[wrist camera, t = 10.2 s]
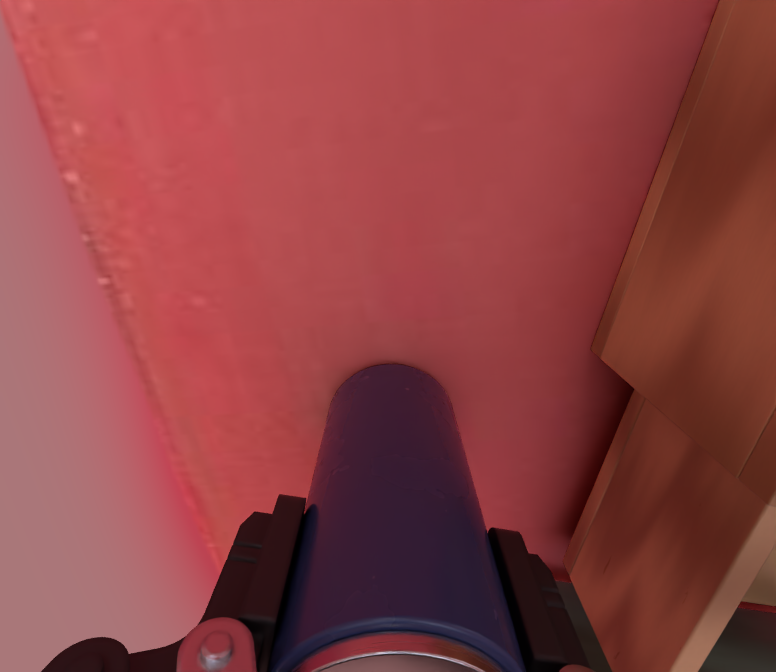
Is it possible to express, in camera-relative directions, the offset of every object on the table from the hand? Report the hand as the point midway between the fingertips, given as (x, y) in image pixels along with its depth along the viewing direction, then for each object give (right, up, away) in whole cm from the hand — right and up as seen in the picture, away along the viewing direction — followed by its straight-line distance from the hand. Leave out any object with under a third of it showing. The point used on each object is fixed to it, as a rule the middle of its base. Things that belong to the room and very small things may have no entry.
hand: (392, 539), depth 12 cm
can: (0, +2, +6) cm, 6 cm away
